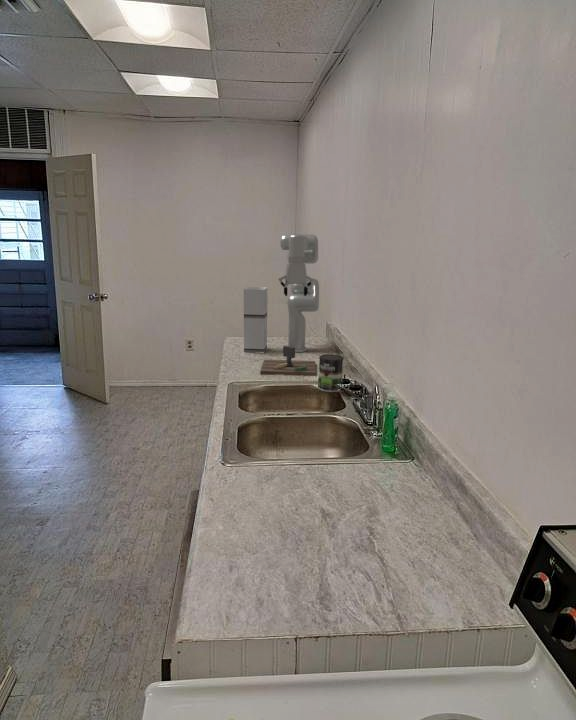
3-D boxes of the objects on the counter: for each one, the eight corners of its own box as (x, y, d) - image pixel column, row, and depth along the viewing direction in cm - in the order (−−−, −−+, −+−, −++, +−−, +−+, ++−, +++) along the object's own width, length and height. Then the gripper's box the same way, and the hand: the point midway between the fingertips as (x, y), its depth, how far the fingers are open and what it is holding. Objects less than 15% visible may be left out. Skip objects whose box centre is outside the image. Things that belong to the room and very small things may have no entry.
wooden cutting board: (264, 362, 263) (264, 357, 262) (314, 363, 262) (315, 358, 261) (260, 374, 241) (260, 368, 241) (315, 375, 240) (315, 369, 240)
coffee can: (336, 393, 214) (338, 361, 211) (314, 389, 219) (315, 357, 215) (345, 387, 223) (347, 356, 220) (324, 383, 228) (325, 353, 224)
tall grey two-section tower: (267, 348, 294) (267, 287, 285) (264, 352, 283) (264, 289, 275) (247, 347, 295) (247, 286, 286) (243, 352, 284) (243, 288, 276)
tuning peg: (287, 363, 254) (287, 345, 252) (296, 365, 251) (296, 347, 248) (271, 367, 247) (271, 348, 244) (280, 369, 243) (281, 350, 240)
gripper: (311, 260, 257) (310, 295, 261) (277, 260, 254) (277, 295, 258) (315, 261, 250) (314, 296, 254) (280, 260, 247) (279, 296, 250)
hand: (295, 295), depth 256 cm, fingers open, 9 cm apart
